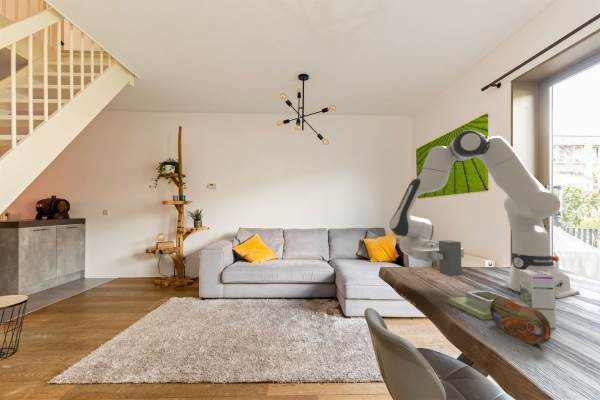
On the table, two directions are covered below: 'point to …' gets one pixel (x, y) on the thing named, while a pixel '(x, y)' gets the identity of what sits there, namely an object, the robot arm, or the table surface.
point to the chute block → (450, 258)
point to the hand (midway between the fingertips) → (451, 256)
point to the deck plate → (476, 303)
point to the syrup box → (538, 293)
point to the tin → (520, 321)
